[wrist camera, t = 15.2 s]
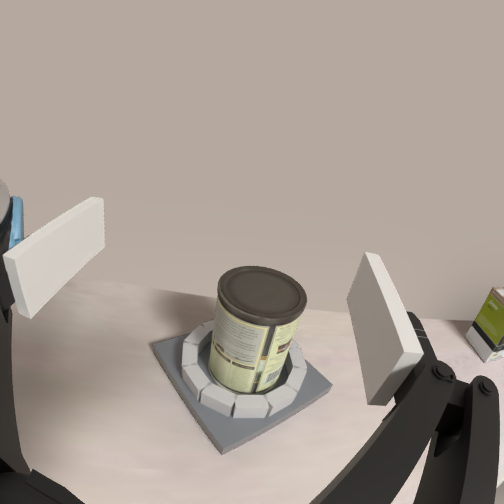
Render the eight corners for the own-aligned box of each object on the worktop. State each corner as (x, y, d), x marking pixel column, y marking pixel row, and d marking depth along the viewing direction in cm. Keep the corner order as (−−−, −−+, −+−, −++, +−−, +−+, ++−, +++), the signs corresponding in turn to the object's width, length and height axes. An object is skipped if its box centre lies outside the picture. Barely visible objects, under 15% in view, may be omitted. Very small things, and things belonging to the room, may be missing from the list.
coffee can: (223, 334, 47) (237, 256, 40) (286, 357, 45) (313, 281, 38) (194, 379, 38) (202, 297, 31) (267, 407, 36) (297, 331, 29)
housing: (153, 352, 43) (152, 332, 41) (253, 320, 54) (258, 300, 52) (221, 454, 30) (225, 440, 28) (328, 392, 42) (338, 374, 40)
